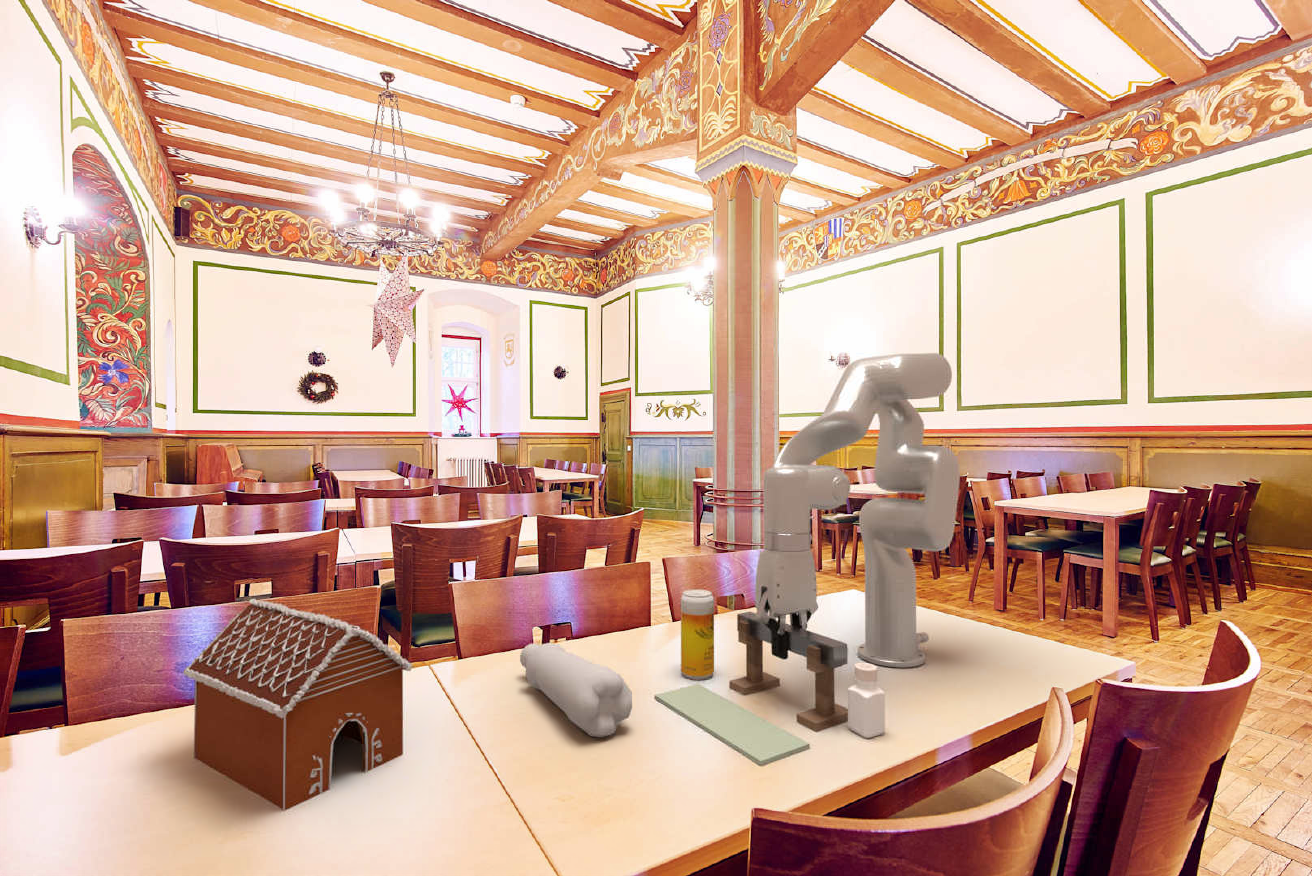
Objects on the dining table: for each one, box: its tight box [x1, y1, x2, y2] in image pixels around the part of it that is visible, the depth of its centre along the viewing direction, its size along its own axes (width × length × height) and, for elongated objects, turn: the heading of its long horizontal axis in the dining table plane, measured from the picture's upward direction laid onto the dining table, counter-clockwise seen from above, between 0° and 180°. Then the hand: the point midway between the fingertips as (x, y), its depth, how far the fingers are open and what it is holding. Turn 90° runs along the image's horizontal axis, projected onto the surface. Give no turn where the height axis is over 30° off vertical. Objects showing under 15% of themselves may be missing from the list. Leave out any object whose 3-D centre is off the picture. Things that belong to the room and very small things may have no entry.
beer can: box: [680, 589, 715, 681], centre depth 114 cm, size 6×6×15 cm
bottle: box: [519, 642, 633, 739], centre depth 101 cm, size 9×9×30 cm
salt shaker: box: [847, 662, 886, 739], centre depth 91 cm, size 4×4×10 cm
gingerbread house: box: [182, 598, 414, 812], centre depth 84 cm, size 18×26×20 cm
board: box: [654, 683, 811, 766], centre depth 94 cm, size 9×26×1 cm, turn 32°
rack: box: [728, 621, 848, 732], centre depth 101 cm, size 8×20×12 cm, turn 32°
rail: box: [736, 611, 849, 669], centre depth 102 cm, size 22×3×3 cm, turn 32°
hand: (787, 653), depth 101 cm, fingers closed on rail, 3 cm apart
